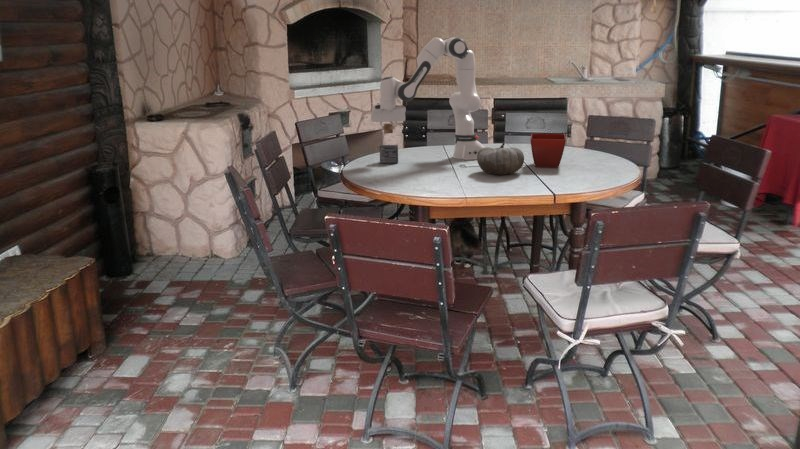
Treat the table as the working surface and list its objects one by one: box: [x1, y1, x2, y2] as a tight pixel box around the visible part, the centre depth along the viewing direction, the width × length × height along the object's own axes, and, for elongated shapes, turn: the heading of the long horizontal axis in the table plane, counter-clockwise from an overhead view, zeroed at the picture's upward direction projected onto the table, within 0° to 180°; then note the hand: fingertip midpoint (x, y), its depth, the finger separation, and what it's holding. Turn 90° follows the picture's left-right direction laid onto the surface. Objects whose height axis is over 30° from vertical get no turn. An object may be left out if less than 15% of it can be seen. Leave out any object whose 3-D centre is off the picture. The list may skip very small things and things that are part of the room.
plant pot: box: [530, 132, 567, 169], centre depth 393 cm, size 19×19×17 cm
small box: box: [379, 144, 399, 165], centre depth 410 cm, size 11×6×10 cm, turn 84°
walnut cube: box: [383, 122, 394, 134], centre depth 405 cm, size 5×5×5 cm
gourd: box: [476, 142, 525, 176], centre depth 376 cm, size 25×25×17 cm
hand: (388, 129), depth 405 cm, fingers closed on walnut cube, 5 cm apart
